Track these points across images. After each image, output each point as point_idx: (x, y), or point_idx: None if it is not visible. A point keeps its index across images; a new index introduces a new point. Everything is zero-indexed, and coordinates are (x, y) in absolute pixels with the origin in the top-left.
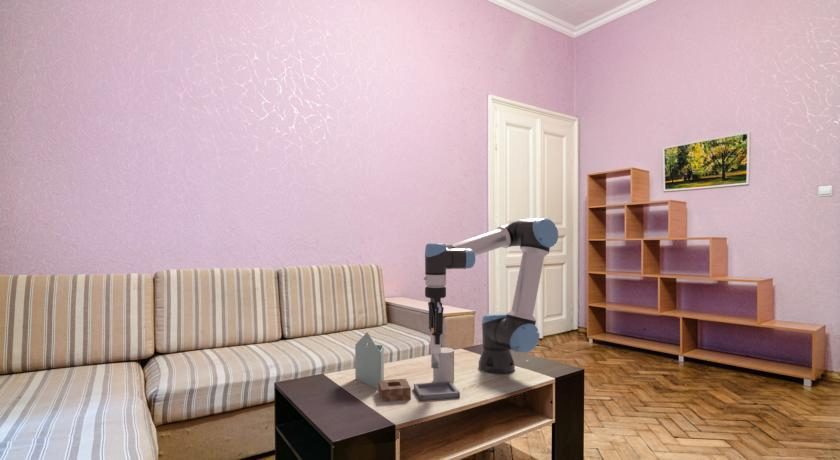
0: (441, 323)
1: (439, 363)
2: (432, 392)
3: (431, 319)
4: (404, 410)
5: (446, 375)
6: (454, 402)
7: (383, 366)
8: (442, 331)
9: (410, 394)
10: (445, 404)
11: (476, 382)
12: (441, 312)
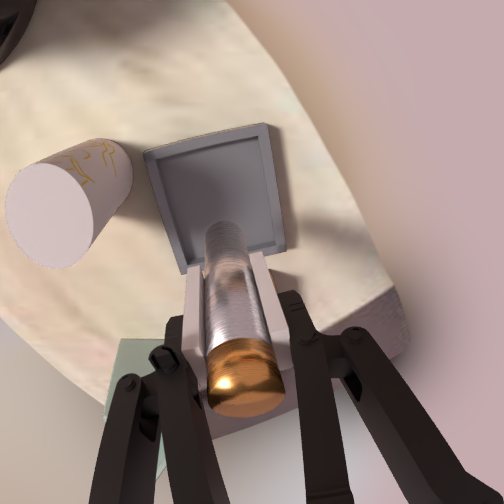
0: (412, 401)
1: (231, 229)
2: (228, 212)
3: (221, 476)
4: (338, 276)
5: (122, 172)
6: (304, 145)
7: (124, 368)
8: (375, 341)
9: (272, 277)
10: (316, 174)
11: (107, 59)
12: (467, 483)
